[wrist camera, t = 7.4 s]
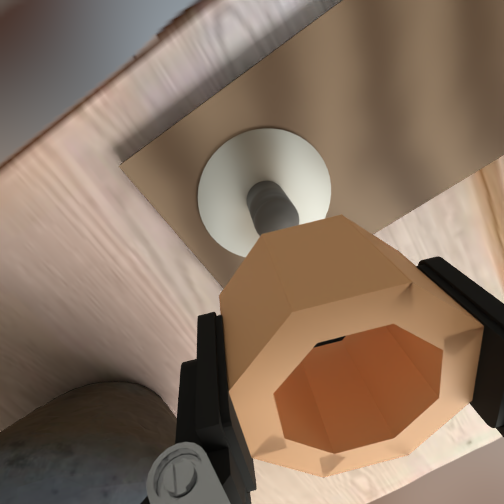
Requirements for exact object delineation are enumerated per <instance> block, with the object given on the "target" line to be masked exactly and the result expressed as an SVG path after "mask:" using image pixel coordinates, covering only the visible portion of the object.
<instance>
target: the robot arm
mask: <svg viewBox="0 0 504 504" xmlns="http://www.w3.org/2000/svg"><path fill="white" fill-rule="evenodd" d="M416 267H417V268H418V269H419V270H420V271H421V272H423V273H424V274H425V275H426V276H427V277H428V278H429V279H431V280H432V281H433V282H434V283H435V284H436V285H437V286H439V287H440V288H441V289H442V290H443V291H444V292H446V293H447V294H448V295H449V296H450V297H451V298H452V299H454V300H455V301H456V302H457V303H458V304H459V305H461V306H462V307H463V308H464V309H465V310H466V311H467V312H469V313H470V314H471V315H472V316H473V317H474V318H475V319H477V320H478V321H479V322H480V323H481V324H482V325H484V330H483V336H482V343H481V349H480V355H479V362H478V368H477V374H476V380H475V387H474V393H473V399H472V401H471V402H470V404H471V406H472V407H473V408H474V409H475V410H476V412H477V413H478V414H479V415H480V416H481V418H482V419H483V420H484V421H485V423H486V424H487V425H488V426H490V427H491V428H496V429H497V430H498V431H499V432H500V433H501V435H502V436H503V437H504V304H503V303H502V302H501V301H499V300H498V299H497V298H495V297H494V296H493V295H491V294H490V293H489V292H487V291H486V290H484V289H483V288H482V287H480V286H479V285H478V284H476V283H475V282H474V281H472V280H471V279H470V278H468V277H467V276H466V275H464V274H463V273H462V272H460V271H459V270H457V269H456V268H455V267H453V266H452V265H451V264H449V263H448V262H447V261H445V260H444V259H443V258H441V257H433V258H429V259H425V260H421V261H420V262H419V264H418V266H416ZM146 486H147V496H146V498H145V499H144V500H143V501H142V502H141V504H251V497H250V491H254V490H256V479H255V471H254V464H253V458H252V457H251V454H250V452H249V449H248V446H247V443H246V440H245V437H244V434H243V432H242V429H241V426H240V423H239V420H238V417H237V414H236V412H235V409H234V406H233V403H232V400H231V397H230V394H229V391H228V379H227V367H226V355H225V343H224V331H223V319H222V315H218V316H217V315H216V313H215V312H212V313H208V314H204V315H200V316H198V325H197V359H195V360H191V361H187V362H183V363H182V365H181V372H180V385H179V398H178V411H177V424H176V437H175V445H173V446H171V447H169V448H167V449H166V450H165V451H164V452H163V453H161V454H160V455H159V457H158V458H157V459H156V460H155V462H154V463H153V465H152V467H151V469H150V471H149V473H148V478H147V483H146Z"/></svg>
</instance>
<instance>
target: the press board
mask: <svg viewBox="0 0 504 504" xmlns="http://www.w3.org/2000/svg"><path fill="white" fill-rule="evenodd" d="M503 155H504V0H342V1H340V2H339V3H338V4H336V5H335V6H334V7H332V8H331V9H330V10H328V11H327V12H325V13H324V14H323V15H321V16H320V17H319V18H317V19H316V20H315V21H313V22H312V23H311V24H309V25H308V26H307V27H305V28H304V29H303V30H301V31H300V32H298V33H297V34H296V35H294V36H293V37H292V38H290V39H289V40H288V41H286V42H285V43H284V44H282V45H281V46H280V47H278V48H277V49H275V50H274V51H273V52H271V53H270V54H269V55H267V56H266V57H265V58H263V59H262V60H261V61H259V62H258V63H257V64H255V65H254V66H253V67H251V68H250V69H248V70H247V71H246V72H244V73H243V74H242V75H240V76H239V77H238V78H236V79H235V80H234V81H232V82H231V83H230V84H228V85H227V86H226V87H224V88H223V89H221V90H220V91H219V92H217V93H216V94H215V95H213V96H212V97H211V98H209V99H208V100H207V101H205V102H204V103H203V104H201V105H200V106H199V107H197V108H196V109H194V110H193V111H192V112H190V113H189V114H188V115H186V116H185V117H184V118H182V119H181V120H180V121H178V122H177V123H176V124H174V125H173V126H172V127H170V128H169V129H167V130H166V131H165V132H163V133H162V134H161V135H159V136H158V137H157V138H155V139H154V140H153V141H151V142H150V143H149V144H147V145H146V146H144V147H143V148H142V149H140V150H139V151H138V152H136V153H135V154H134V155H132V156H131V157H130V158H128V159H127V160H126V161H124V162H123V163H122V164H121V165H120V166H119V167H120V168H121V170H122V171H123V172H124V173H125V174H126V175H127V177H128V178H129V179H130V180H131V181H132V182H133V184H134V185H135V186H136V187H137V188H138V189H139V191H140V192H141V193H142V194H143V195H144V196H145V198H146V199H147V200H148V201H149V202H150V203H151V205H152V206H153V207H154V208H155V209H156V210H157V212H158V213H159V214H160V215H161V216H162V217H163V218H164V220H165V221H166V222H167V223H168V224H169V225H170V227H171V228H172V229H173V230H174V231H175V232H176V234H177V235H178V236H179V237H180V238H181V239H182V241H183V242H184V243H185V244H186V245H187V246H188V248H189V249H190V250H191V251H192V252H193V253H194V255H195V256H196V257H197V258H198V259H199V260H200V262H201V263H202V264H203V265H204V266H205V267H206V269H207V270H208V271H209V272H210V273H211V274H212V275H213V277H214V278H215V279H216V280H217V281H218V282H219V284H220V285H221V286H222V287H223V288H225V287H226V285H227V284H228V282H229V281H230V279H231V278H232V276H233V275H234V274H235V272H236V271H237V269H238V268H239V266H240V265H241V263H242V262H243V261H244V259H245V258H246V256H247V255H248V253H249V252H250V250H251V249H252V248H253V246H254V245H255V243H256V242H257V240H258V239H259V238H260V236H261V234H264V233H268V232H272V231H276V230H281V229H285V228H289V227H293V226H297V225H301V224H305V223H309V222H313V221H317V220H321V219H325V218H329V217H333V216H337V215H341V214H342V215H343V216H345V217H346V218H348V219H349V220H351V221H352V222H354V223H356V224H357V225H359V226H360V227H362V228H363V229H365V230H366V231H368V232H369V233H371V234H374V233H376V232H378V231H379V230H381V229H383V228H384V227H386V226H388V225H389V224H391V223H393V222H394V221H396V220H398V219H399V218H401V217H402V216H404V215H406V214H407V213H409V212H411V211H412V210H414V209H416V208H417V207H419V206H421V205H422V204H424V203H426V202H427V201H429V200H430V199H432V198H434V197H435V196H437V195H439V194H440V193H442V192H444V191H445V190H447V189H449V188H450V187H452V186H454V185H455V184H457V183H458V182H460V181H462V180H463V179H465V178H467V177H468V176H470V175H472V174H473V173H475V172H477V171H478V170H480V169H481V168H483V167H485V166H486V165H488V164H490V163H491V162H493V161H495V160H496V159H498V158H500V157H501V156H503Z"/></svg>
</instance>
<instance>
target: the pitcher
mask: <svg viewBox="0 0 504 504" xmlns="http://www.w3.org/2000/svg"><path fill="white" fill-rule="evenodd" d="M176 424H177V418H176V417H175V415H174V414H173V413H172V411H171V410H170V408H169V407H168V406H167V404H166V403H165V402H164V401H163V400H162V398H161V397H160V396H159V395H157V394H156V393H155V392H153V391H152V390H150V389H148V388H147V387H145V386H141V385H137V384H133V383H129V382H101V383H96V384H91V385H87V386H83V387H80V388H76V389H73V390H71V391H69V392H67V393H65V394H64V395H61V396H59V397H57V398H55V399H53V400H52V401H50V402H49V403H48V404H46V405H44V406H41V407H39V408H37V409H35V410H34V411H32V412H31V413H30V414H28V415H27V416H26V417H24V418H22V419H20V420H19V421H17V422H16V423H14V424H13V425H11V426H9V427H8V428H6V429H5V430H3V431H2V432H0V504H141V502H142V501H143V500H144V499H145V498H146V496H147V486H146V483H147V478H148V473H149V471H150V469H151V467H152V465H153V463H154V462H155V460H156V459H157V458H158V457H159V455H160V454H161V453H163V452H164V451H165V450H166V449H167V448H169V447H171V446H173V445H175V437H176Z"/></svg>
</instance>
